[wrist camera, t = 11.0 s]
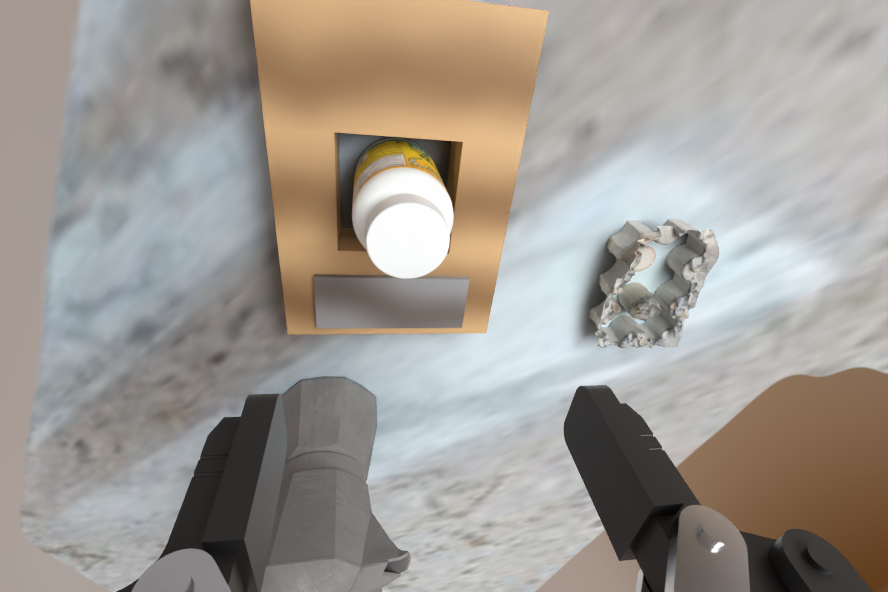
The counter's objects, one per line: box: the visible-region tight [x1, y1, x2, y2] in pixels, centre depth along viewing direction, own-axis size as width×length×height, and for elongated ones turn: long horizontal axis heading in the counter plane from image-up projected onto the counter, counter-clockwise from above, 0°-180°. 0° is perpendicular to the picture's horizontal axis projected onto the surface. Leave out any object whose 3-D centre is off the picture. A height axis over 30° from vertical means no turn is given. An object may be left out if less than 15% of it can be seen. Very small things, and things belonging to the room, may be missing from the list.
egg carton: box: [589, 219, 719, 348], centre depth 34 cm, size 11×8×4 cm
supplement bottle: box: [352, 138, 454, 279], centre depth 24 cm, size 5×5×10 cm
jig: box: [250, 0, 549, 335], centre depth 27 cm, size 20×14×4 cm
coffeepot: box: [261, 377, 410, 592], centre depth 32 cm, size 15×9×18 cm, turn 109°
